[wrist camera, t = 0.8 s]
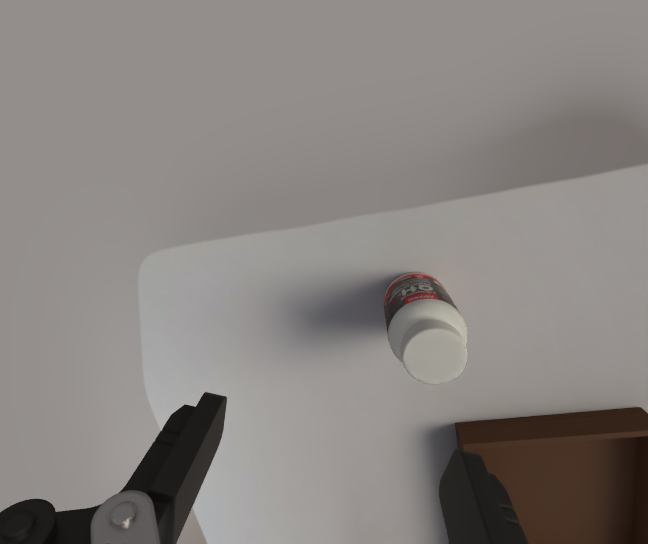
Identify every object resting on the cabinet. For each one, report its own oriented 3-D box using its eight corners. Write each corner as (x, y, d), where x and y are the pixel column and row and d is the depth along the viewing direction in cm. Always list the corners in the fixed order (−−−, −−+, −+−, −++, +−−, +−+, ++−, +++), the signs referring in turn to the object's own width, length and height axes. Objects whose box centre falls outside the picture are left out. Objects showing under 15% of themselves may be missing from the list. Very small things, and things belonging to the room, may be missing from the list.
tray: (455, 422, 35) (462, 444, 32) (640, 406, 32) (665, 429, 30) (472, 577, 40) (479, 607, 38) (630, 574, 38) (650, 605, 35)
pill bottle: (418, 258, 30) (442, 300, 21) (458, 302, 31) (499, 362, 22) (370, 297, 32) (373, 354, 22) (410, 338, 33) (428, 409, 23)
